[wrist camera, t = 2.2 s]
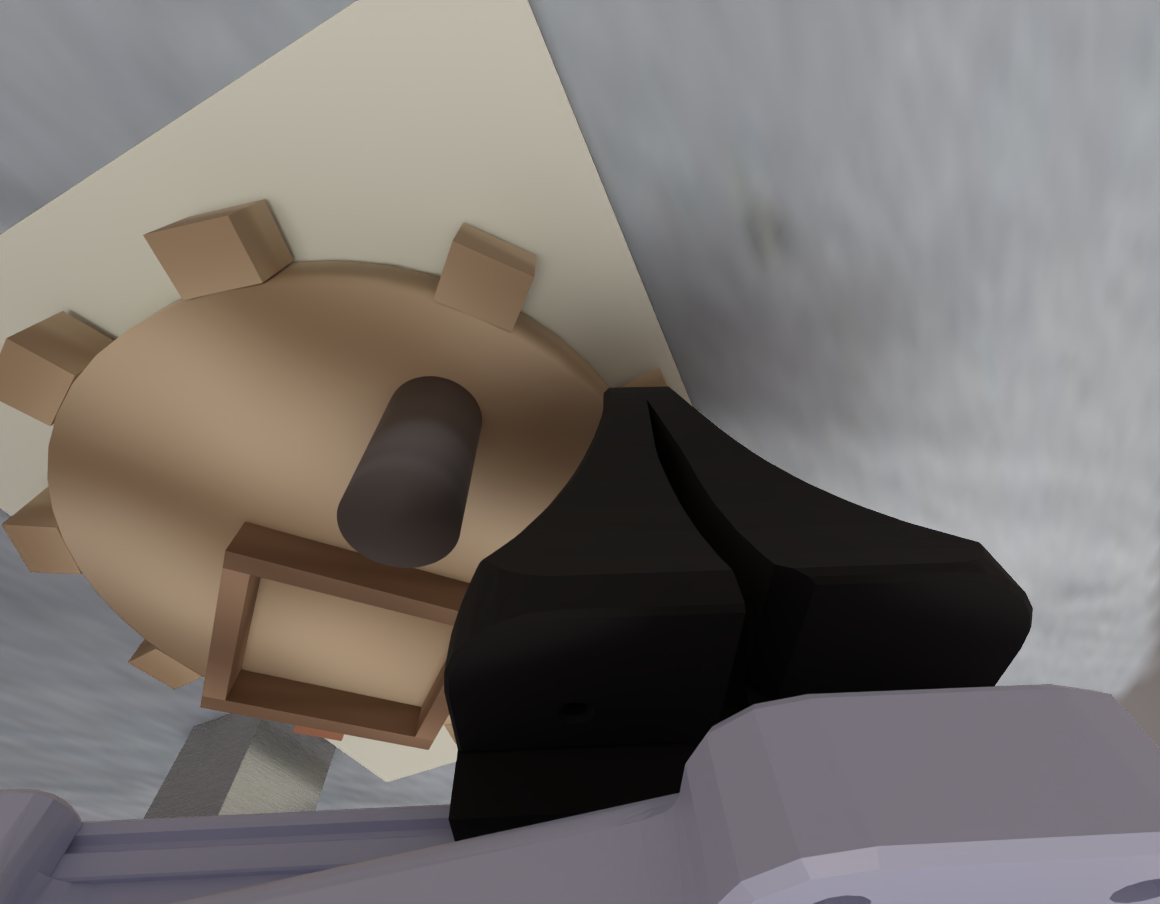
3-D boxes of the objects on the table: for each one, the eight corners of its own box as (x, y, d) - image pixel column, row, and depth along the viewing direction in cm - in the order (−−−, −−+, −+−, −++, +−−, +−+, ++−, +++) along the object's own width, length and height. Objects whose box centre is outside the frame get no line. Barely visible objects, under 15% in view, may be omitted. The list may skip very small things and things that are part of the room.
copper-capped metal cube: (264, 768, 25) (203, 915, 21) (194, 725, 23) (110, 878, 19) (336, 745, 24) (288, 892, 20) (270, 698, 22) (201, 852, 18)
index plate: (392, 758, 25) (381, 802, 24) (-155, 348, 13) (-242, 382, 12) (786, 636, 21) (803, 679, 20) (496, -74, 10) (487, -101, 8)
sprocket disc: (16, 19, 9) (-413, -23, 5) (824, 386, 14) (940, 519, 10) (59, 640, 18) (-90, 811, 14) (548, 740, 22) (548, 890, 18)
